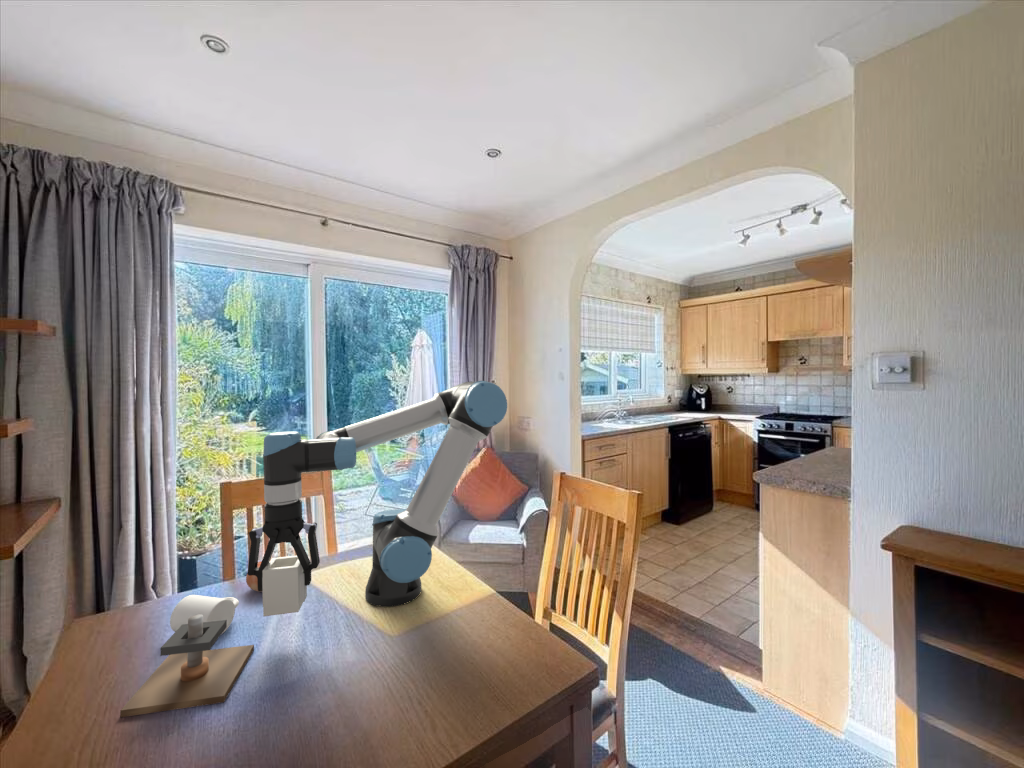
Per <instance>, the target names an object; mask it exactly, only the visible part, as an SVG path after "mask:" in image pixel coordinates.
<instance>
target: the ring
mask: <svg viewBox="0 0 1024 768" xmlns="http://www.w3.org/2000/svg"><path fill="white" fill-rule="evenodd" d="M226 627H227V620H221V621H211V622H203V636H202V637H198V638H189V639H188V624H183V625H181V626H180V627H179V629H178V630H177V631H176V632H174V633H173V634H172V635H171V636H170V637H169V638H168V639H167V640H166V641H165V642H164V643H163V644H162V646H160V654H159V655H160V657H161V656H163V657H164V656H169V655H172V654H181V653H189V652H198V651H206V650H212V648H213V646H214V645H215V644H216V642H217V640H218V639H219V638H220V637H221V636H222V635H223V634H224V633H223V631H224V630H225V628H226ZM222 633H223V634H222ZM221 634H222V635H221Z"/></svg>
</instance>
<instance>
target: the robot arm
mask: <svg viewBox="0 0 1024 768" xmlns="http://www.w3.org/2000/svg"><path fill="white" fill-rule="evenodd" d="M507 412H508V400H507V397H506V394H505V392H504V391H503V389H502V388H501V387H500V386H499V385H497V384H496V383H494V382H491V381H487V380H477V381H473V380H472V381H465V382H461V383H459V384H457V385H455V386H452V387H450V388H447V389H445V390H443V391H440V392H436V393H435V394H434V395H433V397H432V398H430V399H427V400H424V401H420V402H417V403H415V404H411V405H409V406H405V407H402V408H399V409H396V410H392V411H390V412H386V413H383V414H380V415H378V416H375V417H371V418H367V419H365V420H361V421H359V422H356V423H353V424H352V423H351V424H350V425H346V426H344V427H341V428H338V429H334V430H327V431H324V432H321V433H320V434H319V435H318V436H317V435H316V438H315V439H302V437H301V433H300V432H298V431H277V432H276V431H275V432H272V433H268V434H267V435H265V437H264V438H263V454H262V458H263V459H262V460H263V461H262V462H263V491H264V492H263V493H264V496H263V497H264V500H263V501H264V502H265V504H264V524H263V526H260V527H253V528H252V529H251V530H250V531H249V532H248V536H249V540H250V547H249V556H248V564H247V565H248V566H247V573H248V575H249V576H251V575H254V576H256V577H257V583H258V591H262V593H263V569H264V568H265V567H266V566H267V564H268V563H269V561H270V559H272V556H273V553H274V551H275V548H276V546H277V544H281V543H286V544H288V543H290V546H291V547H293V550H294V552H295V556H297V557H298V559H299V561H300V564H301V566H302V568H303V570H302V571H301V573H300V591H301V602H303V603H304V602H305V601H306V600H307V597H308V588H307V587H308V586H310V585H311V582H312V570H314V569H317V568H318V567H319V564H320V563H321V562H320V561H321V560H320V553H319V548H318V541H317V540H318V539H317V535H316V534H317V533H316V531H317V529H318V528H317V527H318V523H317V522H315V521H313V522H312V523H308V522H306V521H304V519H303V500H302V499H301V498H302V497H303V494H302V493H303V490H302V488H303V487H302V486H303V485H302V484H303V483H302V473H303V474H304V473H316V472H325V471H342V470H346V469H353V468H354V467H355V466H356V464H357V453H359V452H361V451H364V450H368V449H370V448H373V447H375V446H378V445H382V444H385V443H387V442H390V441H393V440H396V439H399V438H403V437H405V436H408V435H411V434H413V433H416V432H417V433H418V432H419V431H422V430H424V429H428V428H431V427H434V426H437V425H439V424H442V425H444V426H447V425H449V427H448V430H447V432H446V433H445V436H444V438H443V439H442V441H441V443H440V445H439V448H438V449H437V451H436V453H435V455H434V457H433V458H432V460H431V461H430V464H429V467H428V468H427V470H426V471H425V473H424V476H423V478H422V479H421V481H420V484H419V485H418V487H417V489H416V491H415V493H414V495H413V496H412V499H410V502H409V504H408V506H407V508H398V509H388V510H383V511H379V512H376V513H375V514H374V515H373V519H372V523H371V524H372V525H371V526H372V567H371V571H370V575H369V577H368V580H367V583H366V587H365V590H364V591H365V593H364V594H365V596H364V597H365V600H366V601H367V602H368V603H369V604H370V605H373V606H377V607H384V608H385V607H386V608H387V607H397V606H401V604H403V605H405V604H404V603H406V604H408V603H407V602H409V601H411V602H412V600H413V599H415V598H416V597H417V596H418V595H419V594H420V592H421V593H422V581H421V577H422V576H424V574H426V572H427V571H428V569H429V568H430V566H431V563H432V557H433V554H432V553H433V552H432V548H433V545H434V544H435V542H436V540H437V537H438V535H439V530H438V528H437V524H438V523H439V520H440V519H441V516H442V515H443V513H444V511H445V509H446V507H447V505H448V503H449V500H450V498H451V497H452V495H453V493H454V491H455V490H456V489H455V488H456V487H457V485H458V483H459V481H460V479H461V477H462V475H463V473H464V471H465V469H466V467H467V465H468V463H469V461H470V460H471V458H472V455H473V454H474V452H475V449H476V448H477V446H478V443H479V442H480V441H482V440H485V439H487V438H488V436H489V434H490V433H491V431H492V429H493V427H494V426H496V425H499V423H501V422H502V421H503V419H504V418H505V416H506V414H507ZM302 530H304V531H305V534H307V542H308V548H309V555H310V556H308V553H307V551H306V549H305V546H304V545H303V542H302V538H301V535H300V533H301V532H302ZM263 533H264V534H265V535H266V537H267V538H269V541H268V543H267V545H266V549H265V552H264V555H263V557H262V560H261V561H262V562H261V561H260V562H261V565H260V567H259V568H258V567H257V566H258V562H259V555H260V547H261V537H263ZM309 557H310V558H309ZM258 591H257V592H258ZM420 595H421V594H420ZM420 595H419V596H420ZM419 596H418V597H419ZM418 597H417V598H418ZM417 598H416V599H417ZM416 599H415V600H416ZM413 601H414V600H413ZM409 603H410V602H409Z"/></svg>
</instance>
